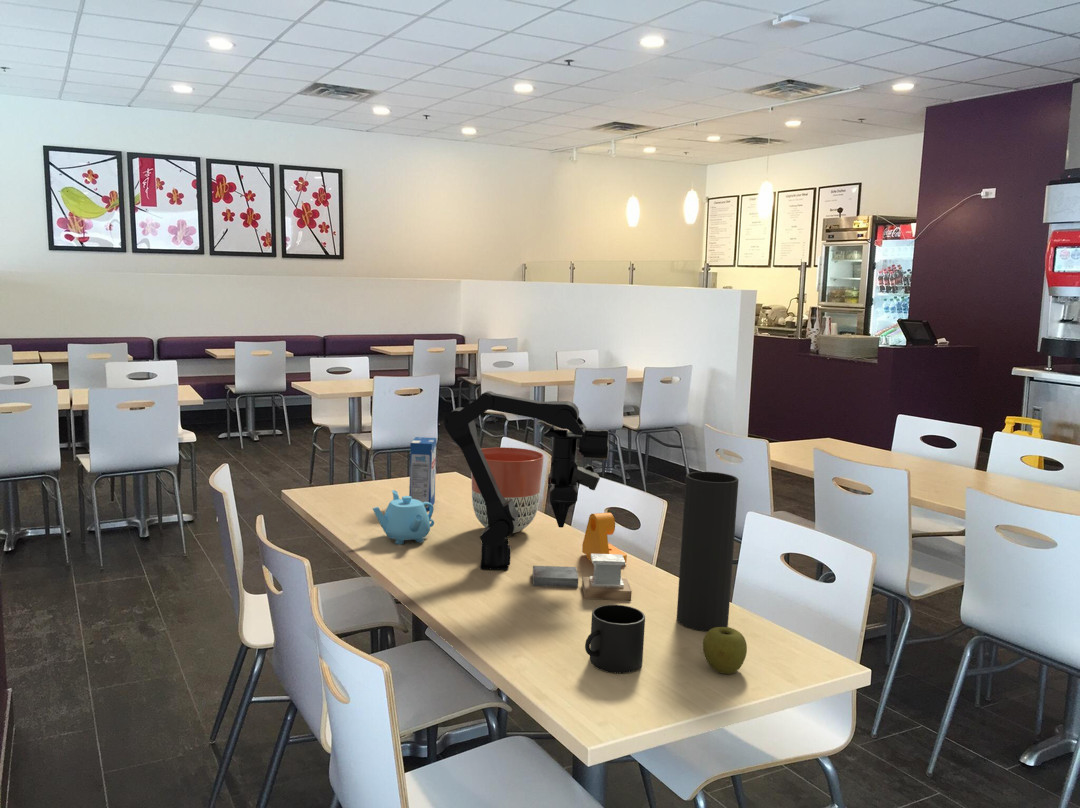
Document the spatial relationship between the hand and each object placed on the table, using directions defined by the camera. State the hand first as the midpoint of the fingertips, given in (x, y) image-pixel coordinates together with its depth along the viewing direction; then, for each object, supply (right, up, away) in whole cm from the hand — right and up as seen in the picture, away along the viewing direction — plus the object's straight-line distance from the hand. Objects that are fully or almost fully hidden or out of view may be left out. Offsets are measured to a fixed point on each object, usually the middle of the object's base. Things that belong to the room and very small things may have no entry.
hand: (560, 521), depth 198 cm
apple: (+28, -20, -48) cm, 59 cm away
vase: (+28, -17, -26) cm, 42 cm away
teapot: (-40, -8, +21) cm, 46 cm away
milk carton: (-40, -3, +55) cm, 68 cm away
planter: (-14, -7, +32) cm, 36 cm away
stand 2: (+10, -14, -12) cm, 21 cm away
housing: (+10, -12, -12) cm, 20 cm away
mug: (+8, -19, -47) cm, 52 cm away
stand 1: (-1, -13, -5) cm, 14 cm away
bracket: (+11, -11, +11) cm, 19 cm away
